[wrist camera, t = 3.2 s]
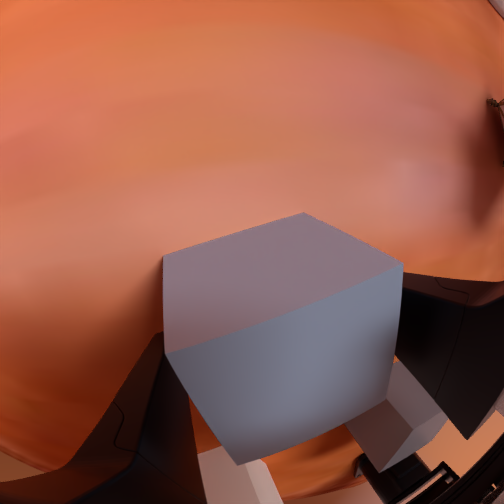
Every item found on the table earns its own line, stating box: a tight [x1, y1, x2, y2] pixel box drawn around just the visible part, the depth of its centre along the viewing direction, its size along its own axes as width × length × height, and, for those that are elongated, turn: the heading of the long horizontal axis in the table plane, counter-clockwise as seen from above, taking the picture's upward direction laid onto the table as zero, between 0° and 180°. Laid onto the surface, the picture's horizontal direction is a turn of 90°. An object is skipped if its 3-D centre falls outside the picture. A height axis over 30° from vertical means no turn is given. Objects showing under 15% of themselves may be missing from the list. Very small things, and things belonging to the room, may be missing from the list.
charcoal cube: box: [344, 361, 448, 473], centre depth 14 cm, size 5×5×5 cm
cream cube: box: [197, 446, 283, 504], centre depth 12 cm, size 5×5×5 cm
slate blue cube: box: [163, 213, 403, 466], centre depth 8 cm, size 5×5×5 cm
